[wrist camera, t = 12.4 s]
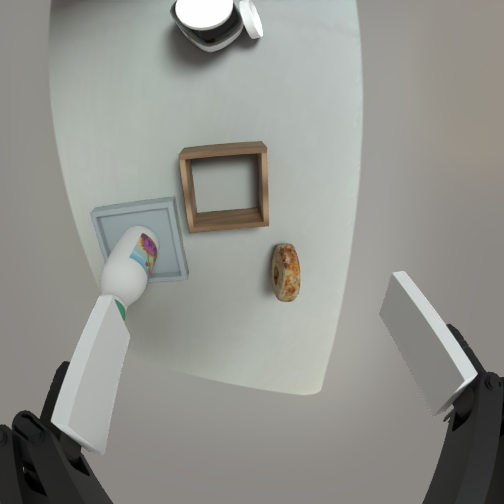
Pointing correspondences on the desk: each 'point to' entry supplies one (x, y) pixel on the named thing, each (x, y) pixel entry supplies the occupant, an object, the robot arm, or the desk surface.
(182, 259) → the tray
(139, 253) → the milk bottle
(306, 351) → the desk surface
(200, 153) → the open wooden box frame
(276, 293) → the bagel
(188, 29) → the spread jar
